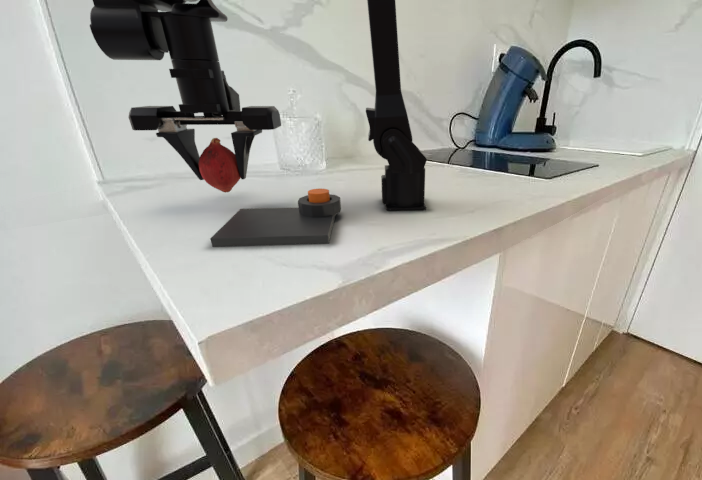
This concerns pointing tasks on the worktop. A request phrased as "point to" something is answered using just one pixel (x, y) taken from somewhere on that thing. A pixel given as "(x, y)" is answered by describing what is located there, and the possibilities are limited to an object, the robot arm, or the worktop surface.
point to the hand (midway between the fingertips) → (223, 179)
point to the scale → (280, 225)
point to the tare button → (318, 195)
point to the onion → (219, 166)
